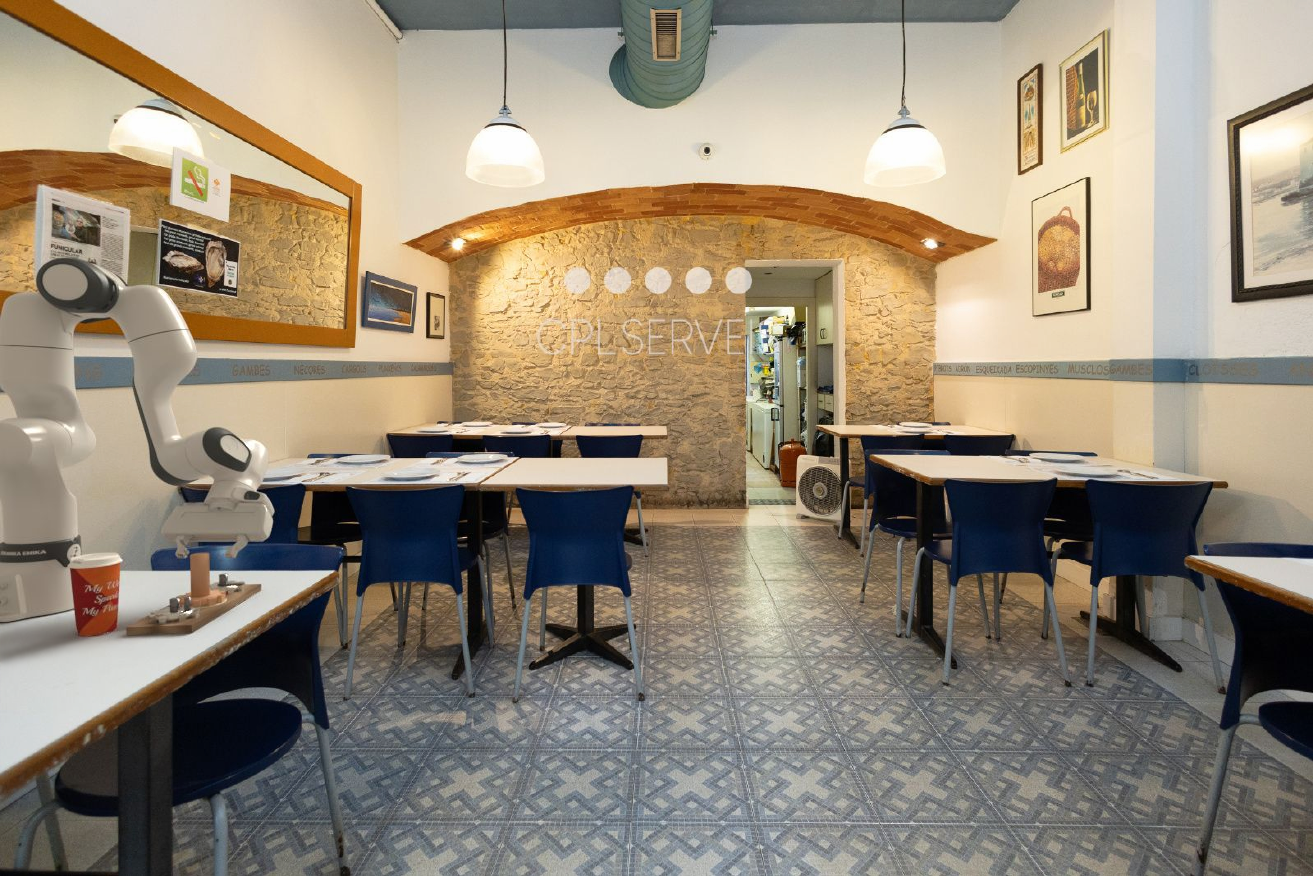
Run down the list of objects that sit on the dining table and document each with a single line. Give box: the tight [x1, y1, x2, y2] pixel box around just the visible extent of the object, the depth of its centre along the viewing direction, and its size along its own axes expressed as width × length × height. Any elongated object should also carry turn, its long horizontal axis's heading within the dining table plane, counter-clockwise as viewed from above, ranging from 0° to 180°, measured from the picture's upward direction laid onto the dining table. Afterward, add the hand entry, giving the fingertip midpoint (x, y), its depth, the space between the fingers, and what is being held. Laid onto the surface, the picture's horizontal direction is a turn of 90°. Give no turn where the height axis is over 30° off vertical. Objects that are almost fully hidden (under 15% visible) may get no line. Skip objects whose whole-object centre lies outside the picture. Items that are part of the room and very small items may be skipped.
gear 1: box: [148, 596, 200, 624], centre depth 124 cm, size 8×8×4 cm
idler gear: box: [176, 552, 226, 608], centre depth 132 cm, size 8×8×10 cm
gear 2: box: [210, 573, 246, 595], centre depth 141 cm, size 8×8×4 cm
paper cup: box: [67, 551, 123, 637], centre depth 120 cm, size 8×8×14 cm
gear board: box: [125, 583, 262, 636], centre depth 133 cm, size 11×28×2 cm, turn 8°
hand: (205, 556), depth 134 cm, fingers open, 8 cm apart
